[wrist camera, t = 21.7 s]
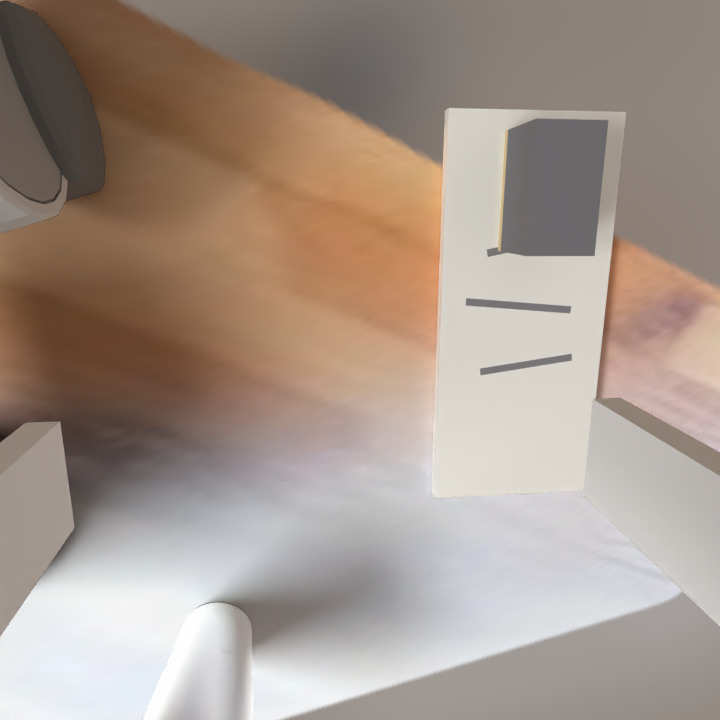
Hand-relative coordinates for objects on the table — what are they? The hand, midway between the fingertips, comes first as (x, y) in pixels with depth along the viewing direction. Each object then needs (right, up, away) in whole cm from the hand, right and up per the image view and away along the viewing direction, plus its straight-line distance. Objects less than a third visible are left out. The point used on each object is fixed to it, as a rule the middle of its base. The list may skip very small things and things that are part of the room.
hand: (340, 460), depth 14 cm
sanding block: (+14, +16, +31) cm, 38 cm away
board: (+14, +6, +35) cm, 38 cm away
